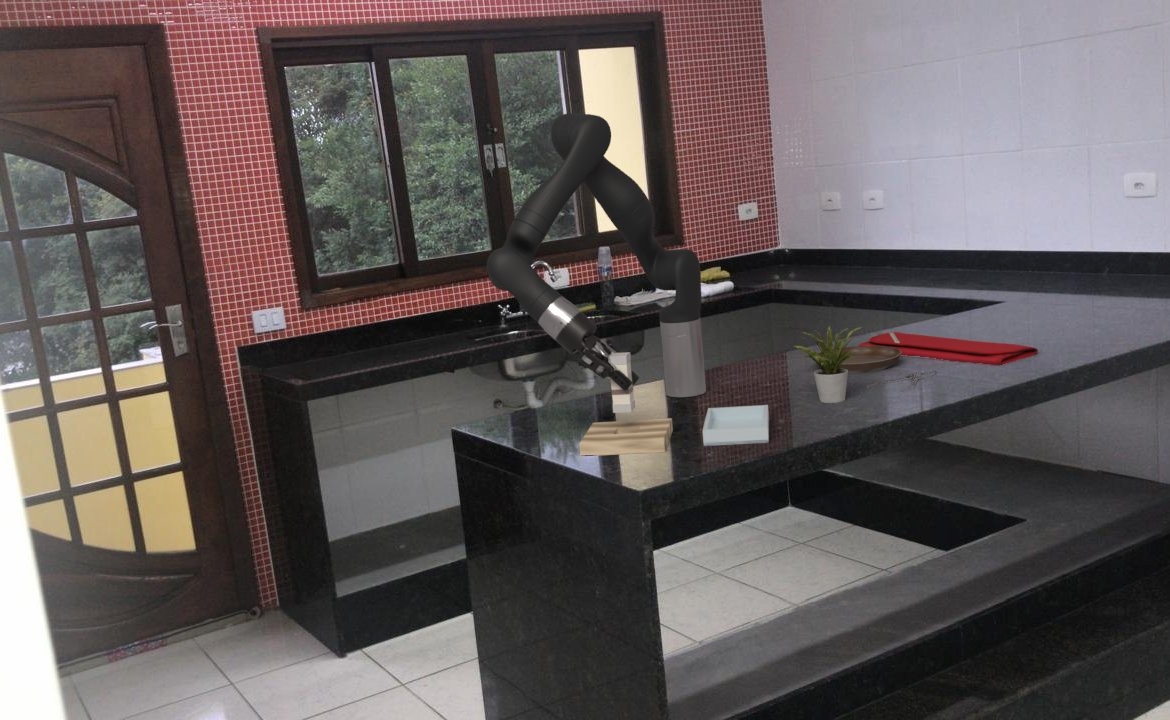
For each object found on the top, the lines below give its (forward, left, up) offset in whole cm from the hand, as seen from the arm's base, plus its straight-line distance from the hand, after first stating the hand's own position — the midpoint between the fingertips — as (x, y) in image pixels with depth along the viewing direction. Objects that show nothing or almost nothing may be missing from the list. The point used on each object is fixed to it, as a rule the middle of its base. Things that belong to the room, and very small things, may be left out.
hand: (632, 384), depth 205 cm
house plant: (-28, +39, -12) cm, 50 cm away
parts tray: (-4, +19, -12) cm, 23 cm away
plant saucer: (-62, +46, -12) cm, 78 cm away
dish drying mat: (-72, +68, -12) cm, 99 cm away
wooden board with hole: (0, -2, -12) cm, 12 cm away
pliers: (-42, +54, -12) cm, 70 cm away
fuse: (0, -2, -5) cm, 6 cm away
